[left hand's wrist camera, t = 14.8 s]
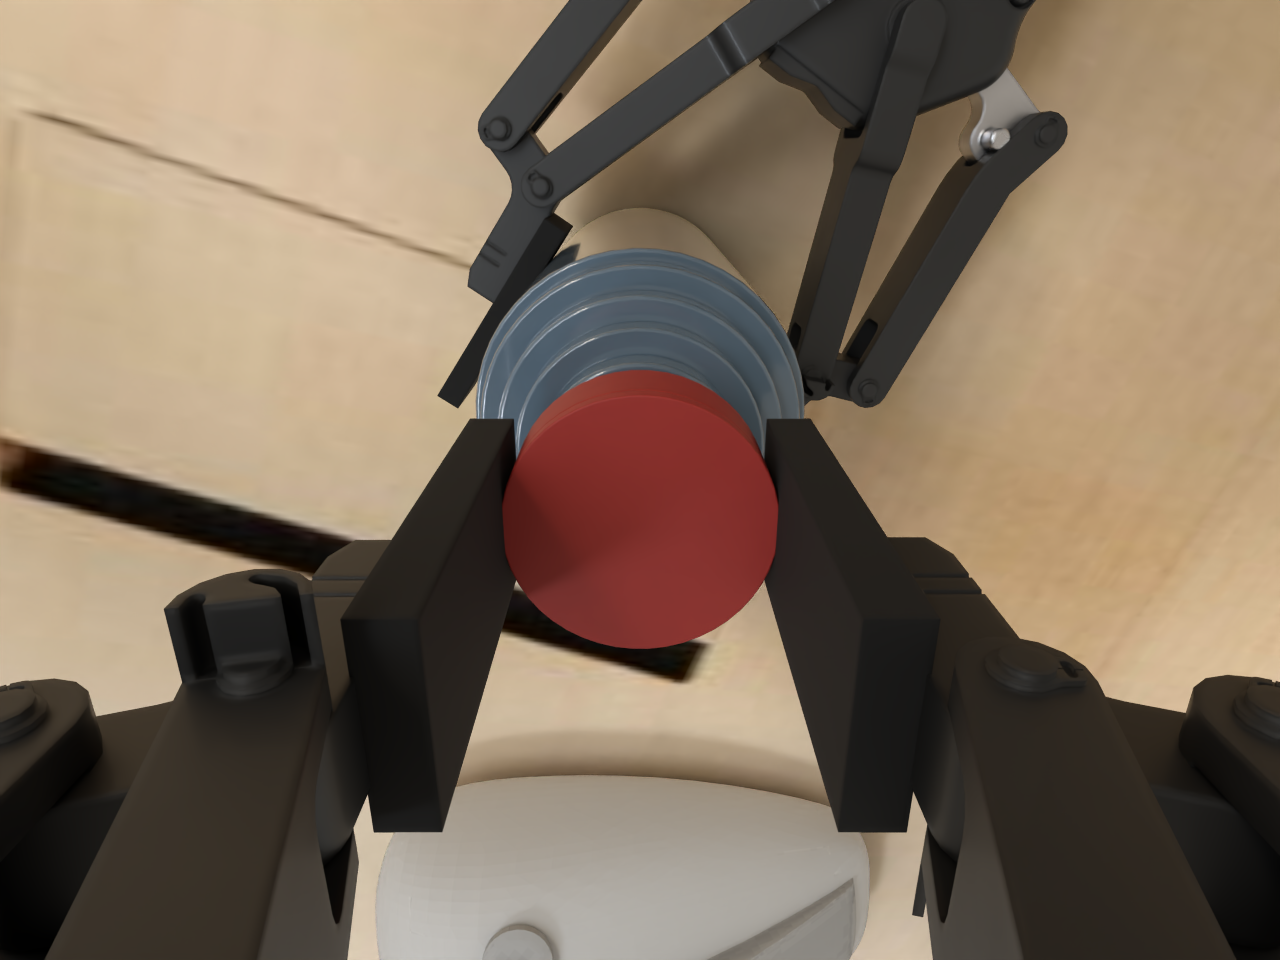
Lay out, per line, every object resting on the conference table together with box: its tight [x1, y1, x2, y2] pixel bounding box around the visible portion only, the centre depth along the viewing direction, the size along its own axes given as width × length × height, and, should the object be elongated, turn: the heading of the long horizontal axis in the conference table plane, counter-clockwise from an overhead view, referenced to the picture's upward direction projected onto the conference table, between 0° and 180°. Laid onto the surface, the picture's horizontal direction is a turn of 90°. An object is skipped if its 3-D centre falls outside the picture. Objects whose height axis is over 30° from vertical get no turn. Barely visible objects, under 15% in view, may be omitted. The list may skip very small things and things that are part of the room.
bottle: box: [476, 208, 805, 459], centre depth 23 cm, size 8×8×20 cm
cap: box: [502, 370, 778, 648], centre depth 14 cm, size 4×4×2 cm
